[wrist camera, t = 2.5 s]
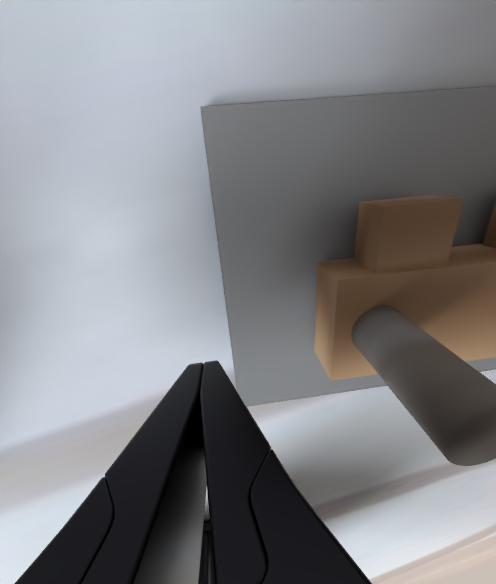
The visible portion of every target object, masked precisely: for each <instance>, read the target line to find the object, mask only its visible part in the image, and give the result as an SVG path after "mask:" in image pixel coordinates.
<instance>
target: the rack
mask: <svg viewBox="0 0 496 584" xmlns="http://www.w3.org/2000/svg"><path fill="white" fill-rule="evenodd" d="M462 203H463V199H461V198H451V197H441V196H431V195H425V196H415V197H404V198H394V199H384V200H374V201H364V202H359V212H358V223H357V233H356V244H355V255H354V258H349V259H340V260H332V261H323V262H317V283H316V313H315V344H314V351H315V353H316V355H317V357H318V358H319V360H320V362H321V364H322V366H323V367H324V369H325V371H326V373H327V375H328V376H329V378H330V380H331V381H333V380H340V379H347V378H354V377H361V376H368V375H374V374H379V376H380V377H381V378H382V379H383V381H384V382H385V383H386V384H387V386H388V387H389V388H390V389H391V390H392V392H393V393H394V394H395V395H396V397H397V398H398V399H399V400H400V402H401V403H402V404H403V405H404V406H405V408H406V409H407V410H408V411H409V413H410V414H411V415H412V416H413V418H414V419H415V420H416V421H417V423H418V424H419V425H420V426H421V427H422V429H423V430H424V431H425V432H426V434H427V435H428V436H429V437H430V439H431V440H432V441H433V442H434V444H435V445H436V446H437V447H438V448H439V450H440V451H441V452H442V453H443V455H444V456H445V457H446V458H447V460H448V461H450V462H451V463H453V464H456V465H461V466H471V465H477V464H481V463H485V462H488V461H490V460H493V459H495V458H496V384H494V383H493V382H492V381H490V380H489V379H488V378H486V377H485V376H484V375H482V374H481V373H480V372H478V371H477V370H476V369H474V368H473V367H472V366H470V365H469V364H468V363H466V362H465V361H470V360H477V359H484V358H491V357H496V202H495V205H494V208H493V212H492V215H491V218H490V222H489V225H488V228H487V232H486V235H485V238H484V241H483V243H481V244H472V245H463V246H455V247H452V243H453V239H454V235H455V231H456V227H457V223H458V219H459V215H460V211H461V207H462Z"/></svg>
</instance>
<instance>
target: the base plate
mask: <svg viewBox="0 0 496 584" xmlns="http://www.w3.org/2000/svg"><path fill="white" fill-rule="evenodd" d="M200 108H201V115H202V123H203V131H204V138H205V146H206V154H207V162H208V169H209V177H210V185H211V193H212V200H213V208H214V216H215V224H216V231H217V239H218V247H219V254H220V262H221V270H222V278H223V285H224V293H225V301H226V309H227V316H228V324H229V332H230V339H231V347H232V355H233V363H234V370H235V378H236V386H237V392H238V394H239V396H240V397H241V399H242V401H243V402H244V404H245V405H246V407H247V406H254V405H260V404H267V403H274V402H280V401H287V400H294V399H300V398H307V397H314V396H320V395H327V394H334V393H341V392H347V391H354V390H361V389H367V388H374V387H381V386H387V384H386V383H385V382H384V381H383V379H382V378H381V377H380V376H379V374H374V375H368V376H361V377H354V378H347V379H340V380H333V381H331V380H330V378H329V376H328V375H327V373H326V371H325V369H324V367H323V366H322V364H321V362H320V360H319V358H318V357H317V355H316V353H315V351H314V344H315V313H316V283H317V262H323V261H332V260H340V259H349V258H354V255H355V244H356V233H357V223H358V212H359V202H364V201H374V200H384V199H394V198H404V197H415V196H425V195H431V196H441V197H451V198H461V199H463V203H462V207H461V211H460V215H459V219H458V223H457V227H456V231H455V235H454V239H453V243H452V247H455V246H463V245H472V244H481V243H483V241H484V238H485V235H486V232H487V228H488V225H489V222H490V218H491V215H492V212H493V208H494V205H495V202H496V86H488V87H473V88H459V89H445V90H430V91H416V92H402V93H388V94H373V95H359V96H345V97H330V98H316V99H302V100H288V101H273V102H259V103H245V104H230V105H216V106H202V107H200ZM465 362H466V363H468V364H469V365H470V366H472V367H473V368H474V369H476V370H477V371H478V372H481V371H488V370H495V369H496V357H491V358H484V359H477V360H470V361H465Z"/></svg>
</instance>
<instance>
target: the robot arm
mask: <svg viewBox="0 0 496 584" xmlns="http://www.w3.org/2000/svg"><path fill="white" fill-rule="evenodd" d="M206 487H207V490H208V502H209V514H210V522H209V523H204V524H203V521H204V510H205V498H206ZM15 584H372V583H371V582H370V581H369V579H368V578H367V577H366V576H365V574H364V573H363V572H362V570H361V569H360V568H359V567H358V565H357V564H356V563H355V562H354V560H353V559H352V558H351V557H350V555H349V554H348V553H347V552H346V550H345V549H344V548H343V546H342V545H341V544H340V543H339V541H338V540H337V539H336V538H335V536H334V535H333V534H332V533H331V531H330V530H329V529H328V528H327V526H326V525H325V524H324V522H323V521H322V520H321V519H320V517H319V516H318V515H317V514H316V512H315V511H314V510H313V508H312V507H311V506H310V504H309V503H308V502H307V500H306V499H305V498H304V496H303V495H302V494H301V492H300V491H299V490H298V488H297V487H296V485H295V484H294V482H293V481H292V479H291V478H290V476H289V475H288V473H287V472H286V470H285V469H284V467H283V466H282V464H281V462H280V461H279V459H278V458H277V456H276V454H275V453H274V451H273V450H271V446H270V445H269V443H268V442H267V440H266V438H265V437H264V435H263V433H262V432H261V430H260V428H259V427H258V425H257V423H256V422H255V420H254V419H253V417H252V415H251V414H250V412H249V410H248V409H247V407H246V405H245V404H244V402H243V401H242V399H241V397H240V396H239V394H238V392H237V391H236V389H235V387H234V386H233V384H232V383H231V381H230V379H229V378H228V376H227V374H226V373H225V371H224V369H223V368H222V366H221V365H220V363H219V362H218V361H210V362H205V363H204V364H203V363H195V364H190V365H188V366H187V367H186V369H185V370H184V371H183V373H182V374H181V375H180V377H179V378H178V379H177V381H176V382H175V383H174V384H173V386H172V387H171V388H170V390H169V391H168V392H167V394H166V395H165V396H164V398H163V399H162V400H161V401H160V403H159V404H158V405H157V407H156V408H155V409H154V411H153V412H152V413H151V415H150V416H149V417H148V418H147V420H146V421H145V422H144V424H143V425H142V426H141V428H140V429H139V430H138V432H137V433H136V434H135V435H134V437H133V438H132V439H131V441H130V442H129V443H128V445H127V446H126V447H125V449H124V450H123V451H122V452H121V454H120V455H119V456H118V458H117V459H116V460H115V462H114V463H113V464H112V466H111V467H110V468H109V469H108V471H107V472H106V473H105V477H103V478H101V480H100V481H99V482H98V484H97V485H96V486H95V488H94V489H93V490H92V491H91V493H90V494H89V495H88V497H87V498H86V499H85V500H84V502H83V503H82V504H81V505H80V507H79V508H78V509H77V510H76V512H75V513H74V514H73V515H72V517H71V518H70V519H69V521H68V522H67V523H66V524H65V526H64V527H63V528H62V529H61V530H60V531H59V533H58V534H57V535H56V536H55V537H54V539H53V540H52V541H51V542H50V543H49V544H48V546H47V547H46V548H45V549H44V550H43V551H42V553H41V554H40V555H39V556H38V557H37V558H36V560H35V561H34V562H33V563H32V564H31V565H30V567H29V568H28V569H27V570H26V571H25V572H24V573H23V575H22V576H21V577H20V578H19V579H18V580H17V581H16V583H15Z"/></svg>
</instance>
